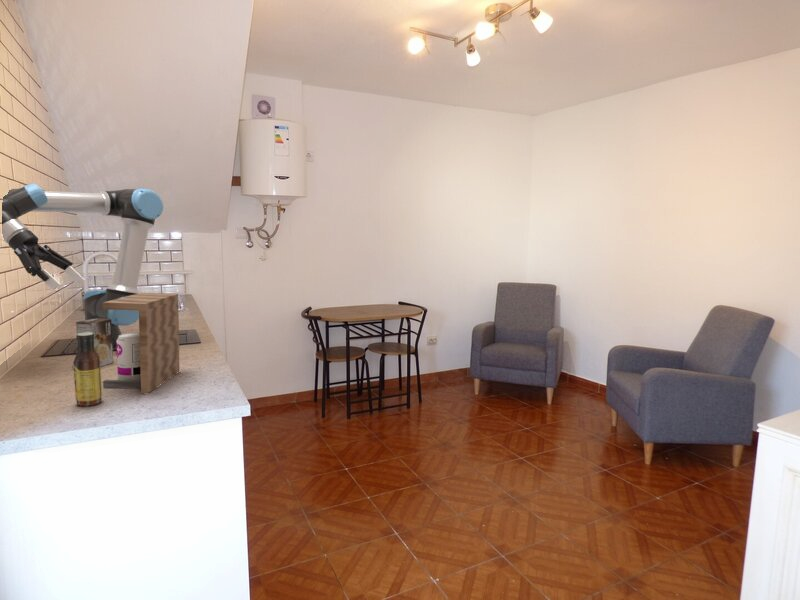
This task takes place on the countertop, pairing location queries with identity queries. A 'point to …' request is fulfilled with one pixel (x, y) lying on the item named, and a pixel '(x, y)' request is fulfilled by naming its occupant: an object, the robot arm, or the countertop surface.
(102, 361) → the coffee box
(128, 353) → the supplement can
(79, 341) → the sauce bottle
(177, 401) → the countertop surface
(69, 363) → the countertop surface
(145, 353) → the overhang shelf
